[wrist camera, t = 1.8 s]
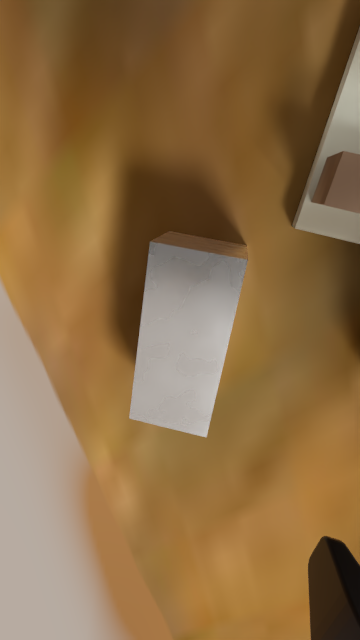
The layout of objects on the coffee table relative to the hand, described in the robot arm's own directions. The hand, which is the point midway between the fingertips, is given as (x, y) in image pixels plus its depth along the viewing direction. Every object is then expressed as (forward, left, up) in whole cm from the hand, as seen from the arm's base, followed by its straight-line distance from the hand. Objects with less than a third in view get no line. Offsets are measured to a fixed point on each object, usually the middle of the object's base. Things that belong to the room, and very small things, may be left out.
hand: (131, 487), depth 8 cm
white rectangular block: (0, 0, -12) cm, 12 cm away
